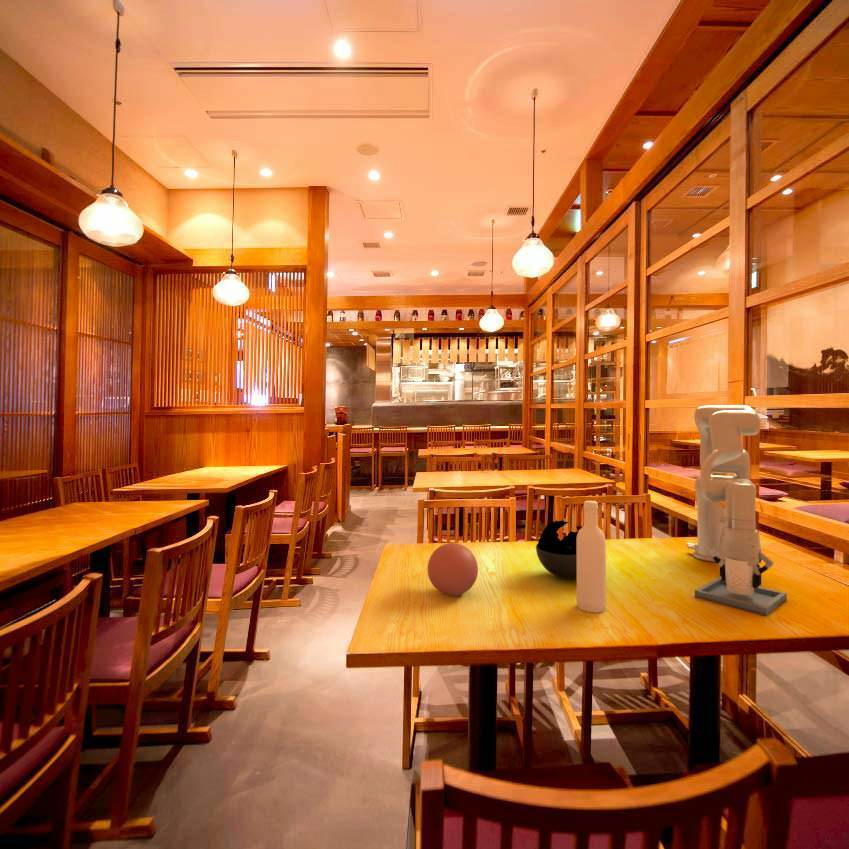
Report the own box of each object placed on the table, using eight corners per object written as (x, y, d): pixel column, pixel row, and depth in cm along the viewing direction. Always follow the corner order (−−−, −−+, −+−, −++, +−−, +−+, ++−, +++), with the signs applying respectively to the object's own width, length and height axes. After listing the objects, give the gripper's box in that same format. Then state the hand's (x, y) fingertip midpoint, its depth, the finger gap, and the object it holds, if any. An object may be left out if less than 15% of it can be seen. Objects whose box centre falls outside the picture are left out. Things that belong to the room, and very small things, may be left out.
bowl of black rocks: (530, 568, 171) (530, 515, 171) (587, 568, 170) (586, 515, 170) (543, 587, 151) (542, 528, 151) (606, 587, 150) (606, 528, 150)
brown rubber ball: (463, 578, 159) (463, 533, 159) (485, 600, 140) (485, 548, 140) (419, 582, 156) (418, 536, 156) (435, 605, 136) (434, 552, 136)
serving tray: (694, 597, 142) (694, 590, 142) (718, 583, 153) (718, 577, 153) (766, 616, 128) (766, 608, 128) (786, 600, 139) (786, 593, 139)
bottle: (602, 615, 129) (602, 504, 128) (573, 609, 133) (572, 502, 133) (608, 605, 135) (608, 500, 135) (580, 600, 140) (580, 498, 139)
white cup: (751, 588, 143) (751, 555, 143) (760, 597, 135) (760, 562, 135) (721, 585, 146) (721, 552, 145) (728, 594, 138) (728, 560, 138)
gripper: (702, 521, 145) (702, 578, 145) (771, 531, 131) (771, 594, 131) (712, 517, 149) (712, 573, 150) (779, 527, 136) (779, 588, 136)
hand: (740, 583), depth 140 cm, fingers closed on white cup, 7 cm apart
